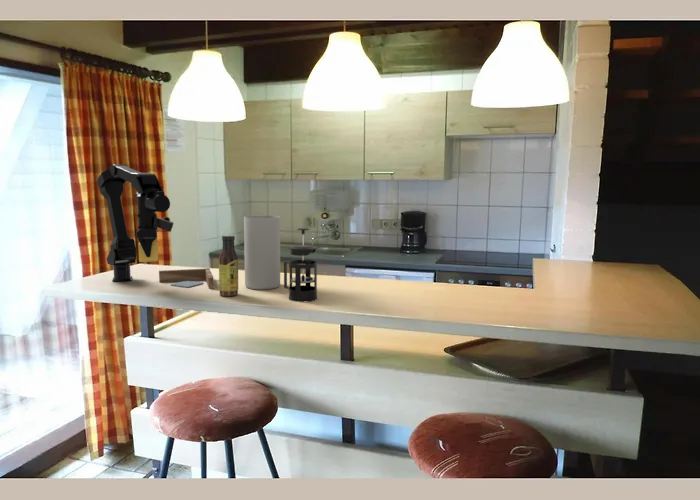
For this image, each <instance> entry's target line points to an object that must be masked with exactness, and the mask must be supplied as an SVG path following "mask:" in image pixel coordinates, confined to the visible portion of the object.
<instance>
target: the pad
mask: <svg viewBox="0 0 700 500" xmlns="http://www.w3.org/2000/svg"><path fill="white" fill-rule="evenodd" d="M200 285H201V286H202V285H204V282H200V281H195V280H190V281H178V282H175V283H171V284H170V286H172V287H178V288H187V289H190V288H194V287H196V286H200Z"/></svg>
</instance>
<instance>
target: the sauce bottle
mask: <svg viewBox="0 0 700 500" xmlns="http://www.w3.org/2000/svg"><path fill="white" fill-rule="evenodd" d="M235 239H236V237H235V235H233V234H223V235H222V236H221V240H222V250H221V252H220V254H219V256H218V290H219V295H220V296H221V297H233V296H237V295H238V293H239V259H238V254H237V252H236V250H235Z"/></svg>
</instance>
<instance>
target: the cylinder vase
mask: <svg viewBox="0 0 700 500" xmlns="http://www.w3.org/2000/svg"><path fill="white" fill-rule="evenodd" d="M243 234H244V235H243V236H244V237H243V238H244V240H243V242H244V247H243V248H244V286H245V287H246V288H247V289H250V290H260V291H261V290H262V291H263V290H265V291H266V290H273V289H276V288H277V289H278V287H280V285H281V217H280V216H279V215H264V214H263V215H260V214H259V215H246V216H243Z"/></svg>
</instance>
